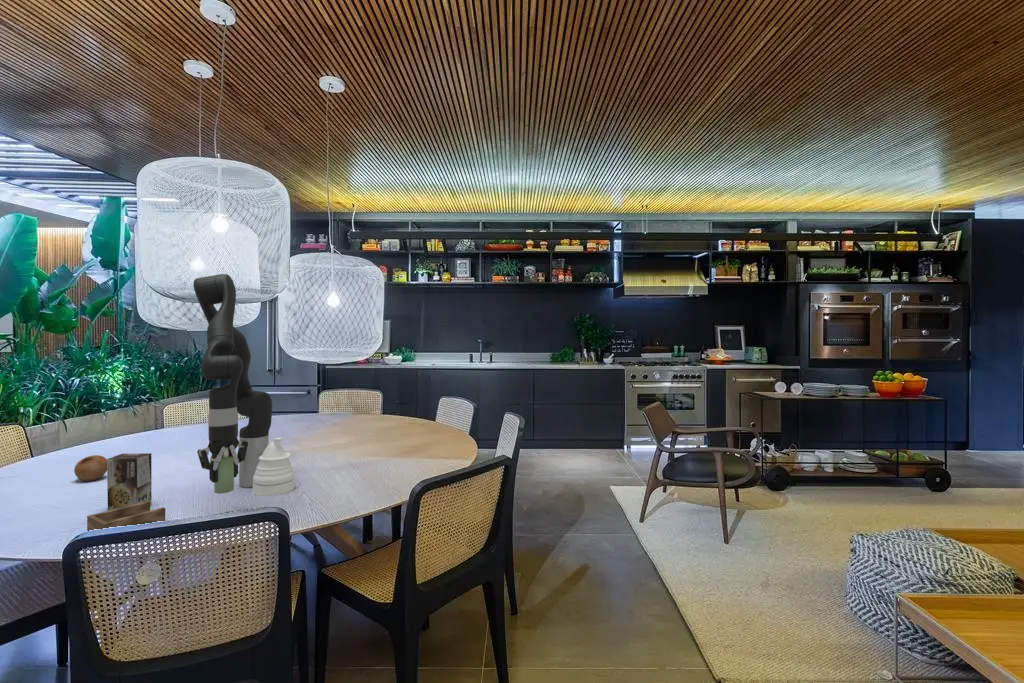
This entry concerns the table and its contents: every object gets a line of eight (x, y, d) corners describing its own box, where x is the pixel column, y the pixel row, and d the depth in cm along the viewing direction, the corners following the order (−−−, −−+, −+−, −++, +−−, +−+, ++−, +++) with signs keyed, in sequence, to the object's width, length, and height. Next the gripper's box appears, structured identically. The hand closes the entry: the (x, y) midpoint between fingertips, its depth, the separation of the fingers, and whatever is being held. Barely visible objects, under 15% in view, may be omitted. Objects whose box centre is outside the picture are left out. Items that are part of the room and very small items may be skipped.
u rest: (147, 514, 141) (147, 500, 141) (165, 522, 135) (165, 508, 135) (87, 530, 129) (87, 515, 129) (103, 539, 123) (103, 524, 123)
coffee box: (152, 504, 149) (153, 452, 149) (137, 511, 143) (137, 458, 143) (122, 504, 149) (123, 452, 149) (106, 511, 143) (106, 458, 143)
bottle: (228, 486, 146) (227, 444, 145) (237, 489, 143) (237, 446, 143) (210, 491, 141) (210, 448, 141) (220, 494, 139) (219, 450, 139)
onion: (88, 491, 170) (80, 469, 166) (72, 481, 173) (64, 459, 169) (117, 475, 178) (111, 454, 174) (101, 465, 181) (94, 444, 177)
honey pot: (302, 488, 167) (302, 436, 167) (267, 498, 156) (267, 443, 156) (279, 482, 174) (280, 432, 173) (244, 491, 163) (245, 438, 162)
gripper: (239, 417, 150) (240, 471, 150) (190, 425, 137) (191, 484, 138) (254, 419, 146) (254, 475, 147) (204, 428, 134) (205, 488, 134)
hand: (224, 479), depth 142 cm, fingers closed on bottle, 5 cm apart
